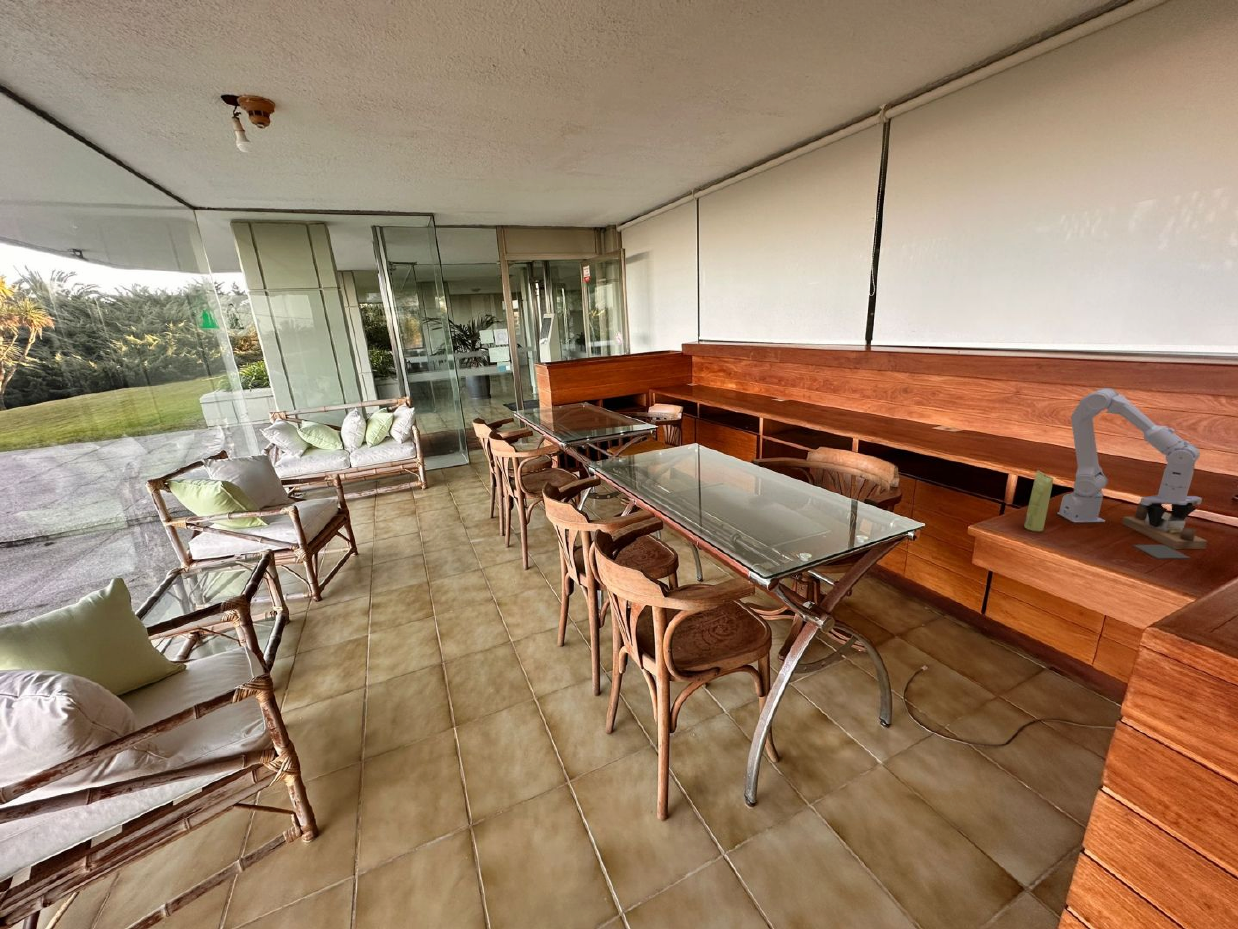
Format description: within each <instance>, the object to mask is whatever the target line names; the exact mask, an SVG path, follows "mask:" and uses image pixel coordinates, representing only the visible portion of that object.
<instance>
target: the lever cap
mask: <svg viewBox="0 0 1238 929" xmlns="http://www.w3.org/2000/svg"><path fill="white" fill-rule="evenodd" d="M1171 514H1172V513H1168V512H1167V511H1166V512H1165V513H1164V514H1163V516H1162V518H1161V520H1160V523H1159V525H1158V527H1154V526H1152V525H1150V524H1149V517H1148V513H1147V516H1146V520H1145V524H1147V525H1149V526H1151V527H1153V528H1155V529H1157V530H1160V531H1162V532H1164V533H1169V532H1170V531H1173V530H1182V529H1183V528H1185V526H1186V522H1187V520H1185V519H1184V520H1183V519H1180V518H1178V517H1176V516H1173V515H1171Z"/></svg>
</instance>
